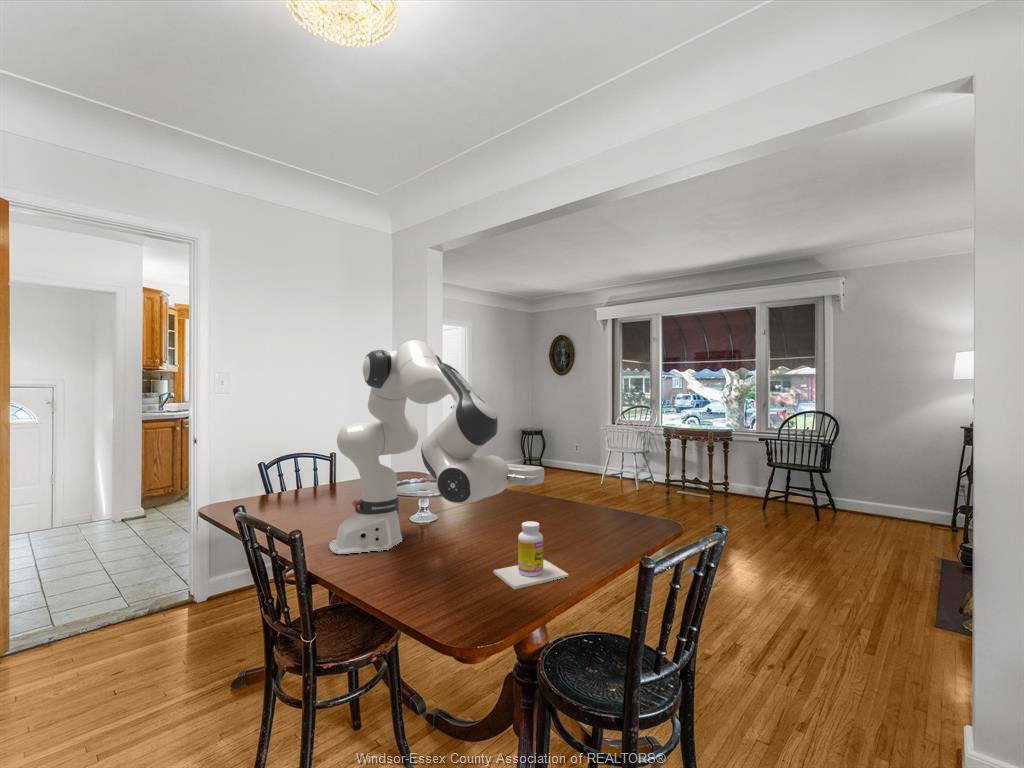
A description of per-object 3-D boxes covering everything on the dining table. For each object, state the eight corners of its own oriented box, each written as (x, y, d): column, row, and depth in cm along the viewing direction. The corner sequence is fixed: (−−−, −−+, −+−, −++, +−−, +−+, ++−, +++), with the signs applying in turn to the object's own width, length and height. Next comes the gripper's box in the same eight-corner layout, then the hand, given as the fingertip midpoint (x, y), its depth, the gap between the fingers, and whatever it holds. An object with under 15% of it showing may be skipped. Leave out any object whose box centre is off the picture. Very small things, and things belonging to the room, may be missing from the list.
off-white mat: (514, 589, 121) (514, 586, 121) (493, 573, 132) (493, 570, 132) (568, 577, 128) (568, 574, 128) (544, 562, 139) (544, 559, 139)
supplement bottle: (535, 579, 125) (535, 528, 125) (513, 574, 129) (513, 525, 129) (547, 570, 131) (547, 522, 131) (526, 565, 134) (525, 518, 134)
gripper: (532, 465, 106) (554, 459, 119) (451, 457, 115) (479, 452, 127) (531, 494, 106) (553, 485, 119) (450, 484, 115) (478, 477, 127)
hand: (514, 468), depth 123 cm, fingers open, 8 cm apart
